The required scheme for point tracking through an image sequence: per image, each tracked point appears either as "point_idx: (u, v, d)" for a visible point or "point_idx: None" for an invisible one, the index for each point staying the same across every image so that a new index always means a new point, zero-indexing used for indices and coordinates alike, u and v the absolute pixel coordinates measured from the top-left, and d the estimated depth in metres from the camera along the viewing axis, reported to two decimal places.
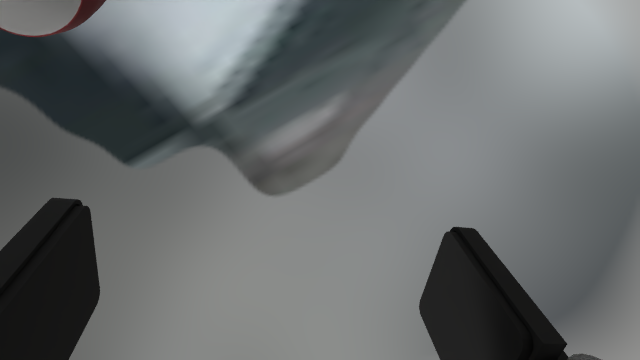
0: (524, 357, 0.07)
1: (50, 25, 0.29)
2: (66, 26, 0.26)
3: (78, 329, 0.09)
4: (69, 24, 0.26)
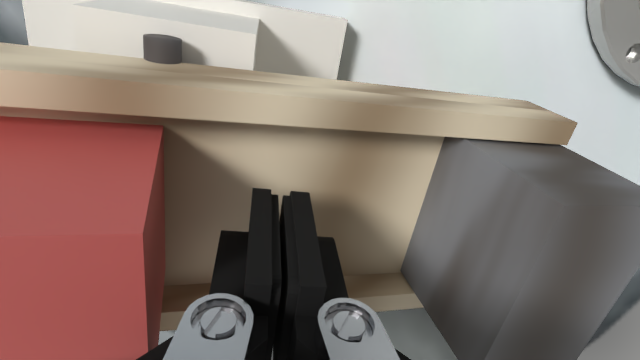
0: (292, 302, 0.08)
1: None
2: None
3: None
4: None
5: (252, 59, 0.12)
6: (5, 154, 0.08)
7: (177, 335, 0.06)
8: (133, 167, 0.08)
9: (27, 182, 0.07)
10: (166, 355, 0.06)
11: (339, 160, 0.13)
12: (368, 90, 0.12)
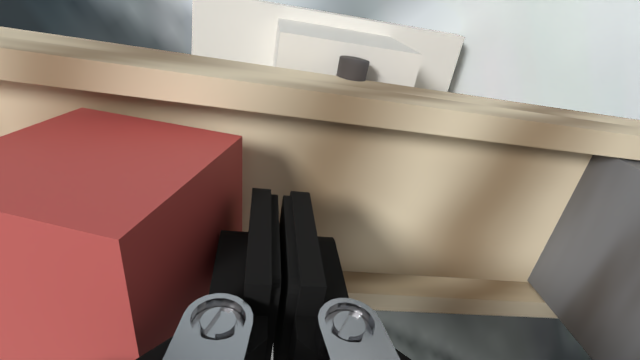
0: (293, 302, 0.08)
1: None
2: None
3: None
4: None
5: (415, 75, 0.14)
6: (92, 146, 0.09)
7: (177, 335, 0.06)
8: (175, 172, 0.09)
9: (82, 172, 0.08)
10: (166, 355, 0.06)
11: (490, 171, 0.14)
12: (526, 109, 0.13)
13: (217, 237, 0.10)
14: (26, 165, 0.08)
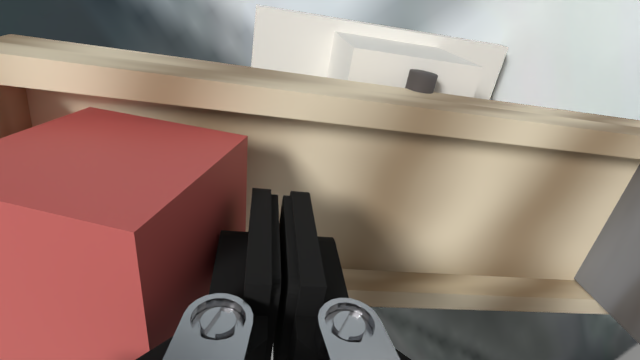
0: (293, 301, 0.08)
1: None
2: None
3: None
4: None
5: (475, 86, 0.15)
6: (103, 144, 0.10)
7: (177, 335, 0.06)
8: (185, 170, 0.09)
9: (94, 169, 0.08)
10: (166, 355, 0.06)
11: (547, 176, 0.15)
12: (583, 118, 0.14)
13: None
14: (40, 161, 0.08)
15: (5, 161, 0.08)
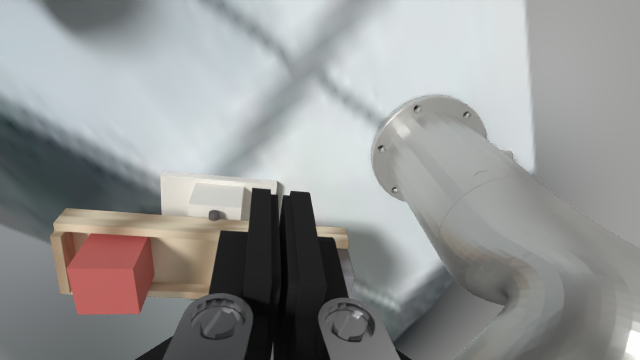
0: (293, 301, 0.08)
1: None
2: None
3: None
4: None
5: (240, 214, 0.39)
6: (108, 246, 0.34)
7: (176, 335, 0.06)
8: (136, 250, 0.34)
9: (112, 255, 0.33)
10: (165, 355, 0.06)
11: None
12: None
13: (147, 263, 0.36)
14: (96, 256, 0.33)
15: (87, 258, 0.33)
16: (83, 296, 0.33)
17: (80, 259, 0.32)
